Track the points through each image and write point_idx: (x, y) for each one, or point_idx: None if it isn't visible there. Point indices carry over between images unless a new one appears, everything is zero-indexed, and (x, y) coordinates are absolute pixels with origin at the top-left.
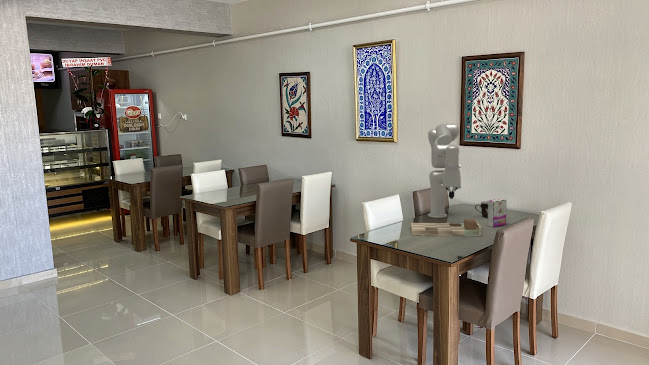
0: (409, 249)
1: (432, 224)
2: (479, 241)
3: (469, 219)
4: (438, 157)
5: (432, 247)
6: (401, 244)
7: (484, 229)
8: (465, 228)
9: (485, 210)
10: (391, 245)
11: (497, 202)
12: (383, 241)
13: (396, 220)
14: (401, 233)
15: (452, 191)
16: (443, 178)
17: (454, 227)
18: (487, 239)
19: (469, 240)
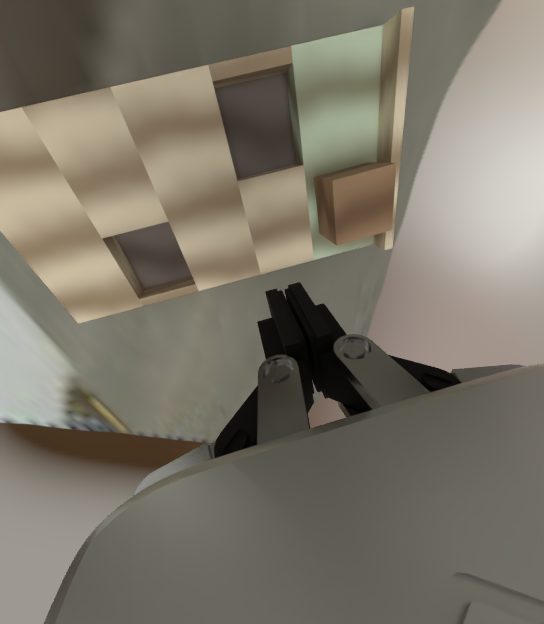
0: (167, 427)
1: (109, 145)
2: (352, 304)
3: (362, 187)
4: None
5: (220, 397)
6: (121, 406)
7: (417, 69)
8: (320, 225)
9: None
10: (97, 421)
11: None
12: (39, 403)
13: None
14: (14, 291)
15: (331, 390)
16: None
17: (263, 199)
18: (382, 273)
19: (321, 303)
